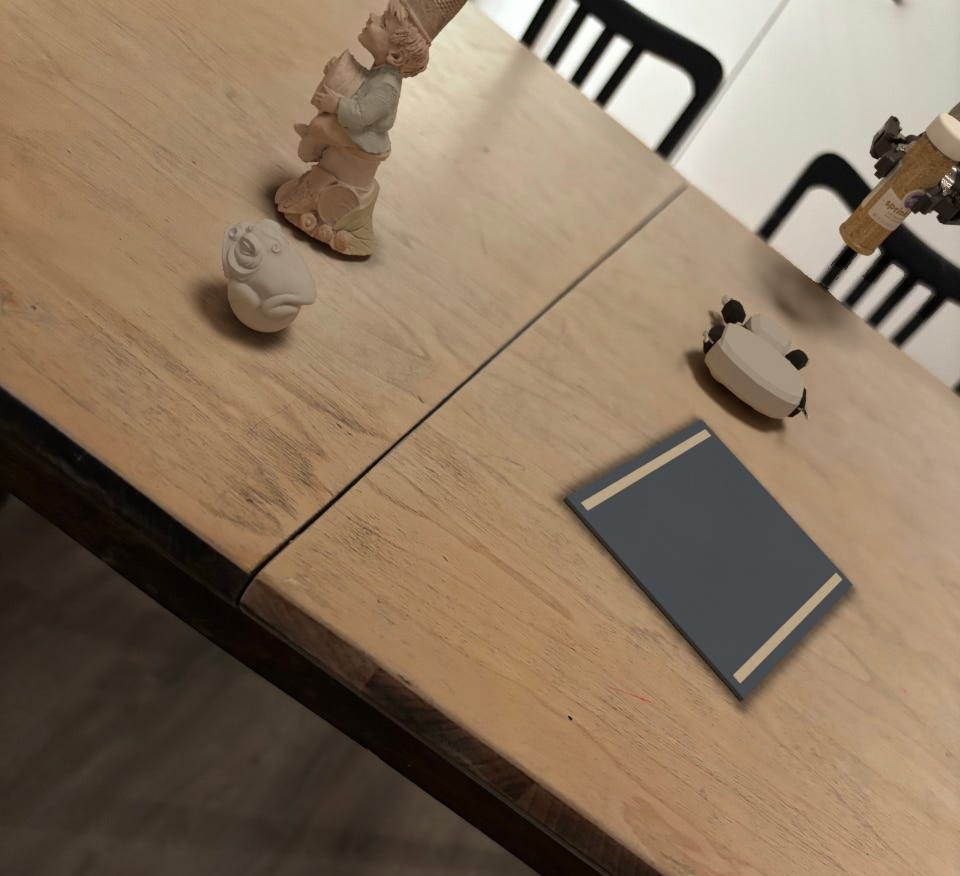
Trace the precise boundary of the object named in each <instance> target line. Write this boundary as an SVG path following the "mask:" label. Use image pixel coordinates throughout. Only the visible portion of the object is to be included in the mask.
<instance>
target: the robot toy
mask: <svg viewBox="0 0 960 876" xmlns="http://www.w3.org/2000/svg"><path fill="white" fill-rule="evenodd" d="M721 305H723V306H722V309H721V310H720V312H721V316H722V319H723V322H724V323H725V325H723V324H717V325H715V326H713V327H711V328H710V329H709V330H708V329H707V328H706V329H705V330H704V331H703V332H702V334H701V335H702V336H703V340H702V343H703V344H702V353H703V354H704V355H705V357H704V360H703V362H704V364H706V366H707V368H708V369H709V373H710V375H711V377H712V378H713V379H714V380H715V381H716V382H717V383H720V384H721V385H723V386H724V387H725V388H727V390H729V391H730V392H731V393H733V394H734V395H735V396H736V397H737V398H738V399H739V400H740V401H742V402H744V403H745V404H746V405H748V406H749V407H751V408H752V409H753V411H756V412H758V413H760V414H763V415H765V416H767V417H769V418H772V419H778V420H782V419H784V418H794V417H796V416H797V415H799V414H800V413H801V412H802V413H803V415H804V419H805V420H806V421H808V420H809V419H810V418H811V415H810V414H809V412H808V410H807V409H808V406H807V405H806V404H807V389H806V387H805V385H806V384H805V383H806V380H805V379H804V377H803V376H802V374H801V373H800V370H802V369H804V368H805V367H807V366H809V365H810V363H811V359H810V358H809V357H808V355H807V354H806V353H805V351H803V350H801V349H800V348H798V349H794V350H791V348H792V337H791V335H790V334H789V333H788V331H787V330H786V329H785V328H784V327H783V326H782V325H781V324H779V323H778V322H777V321H776V320H774V319H773V318H771V317H770V316H769V315H766V314H763V313H756V314H755V313H754V314H753V315H751V316H750V317H749V318H748V319H747V320H746V322H745V319H746V318H747V314H746V311H745V308H744V306H743V304H742V303H741V302H740V301H739V300H738V299H735V298H733V297H730V296H728V295H726V294H725V295H723V296H722V298H721ZM744 322H745V323H744ZM790 350H791V351H790Z"/></svg>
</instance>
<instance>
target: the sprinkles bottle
mask: <svg viewBox="0 0 960 876" xmlns="http://www.w3.org/2000/svg"><path fill="white" fill-rule="evenodd" d="M925 131H926V132H924V131H922V132H923V134H922V137H921V138H920V139H919V140H918V141H917V142H916V143H915V144H914V145H913V146H912V148H911V149H909V150H908V152H907V153H906V154H905V155H904V156H903V157H902V158H901V159H900V160H899V161H898V162H897V163H896V164H895V166H894V167H893V168H892V169H891V170H890V171H889V172H888V173H887V174H886V176H885V177H883V178H881V179H880V180H879V182H878V183H877V184H876V185H875V187H874V188H873V189H872V190H871V191H870V192H869V193H868V194H867V195H866V196H865V198H864V199H863V200H862V201H861V203H860V204H859V205H858V207H857V208H856V209H855V210H853V212H852V213H851V215H850V216H849V217H848V218H847V219H846V220H845V221H844V222H842V223H841V224H840V225H839V227H838V232H839V235H840V237H841V238H842V240H843V242H844V244H846V245H847V246H848V247H850V248H851V249H852V250H853V251H855V252H856V253H858V254H859V255H861V256H865V257H869V256H871V255H873V254H874V253H875V252H876V249H878V247H879V246H880V245H881V244H882V243H883V242H884V241H885V240H886V239H887V238H888V237H889V235H890V234H892V232H894V231H896V229H897V228H898V227H899V226H900V225H901V224H902V223H903V222H904V221H905V220H906V219H907V218H908V217H909V216H910V214H911V213H913V212H912V211H911V210H910V209H911V208H912V207H913V205H914V204H915V203H916V202H917V201H918V200H919V199H920V198H921V197H922V196H923V195H924V194H925V193H926V192H927V191H928V190H930V189H931V188H933V187H935V186H936V185H937V184H938V183H939V181H940V180H941V179H942V178H943V177H944V176H945V175H946V174H947V173H948V172H949V171H950V170H951V169H952V167H953V166H954V165H956V164H957V163H958V161H960V122H959V121H958V120H957V119H955V118H954V117H952V116H950V115H948V113H945V112H941V113H939V114H938V115H937V116H936V117H934V119H933V120H932V121H931V122H930V123H929V124H928V125H927V127H926V128H925Z"/></svg>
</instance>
